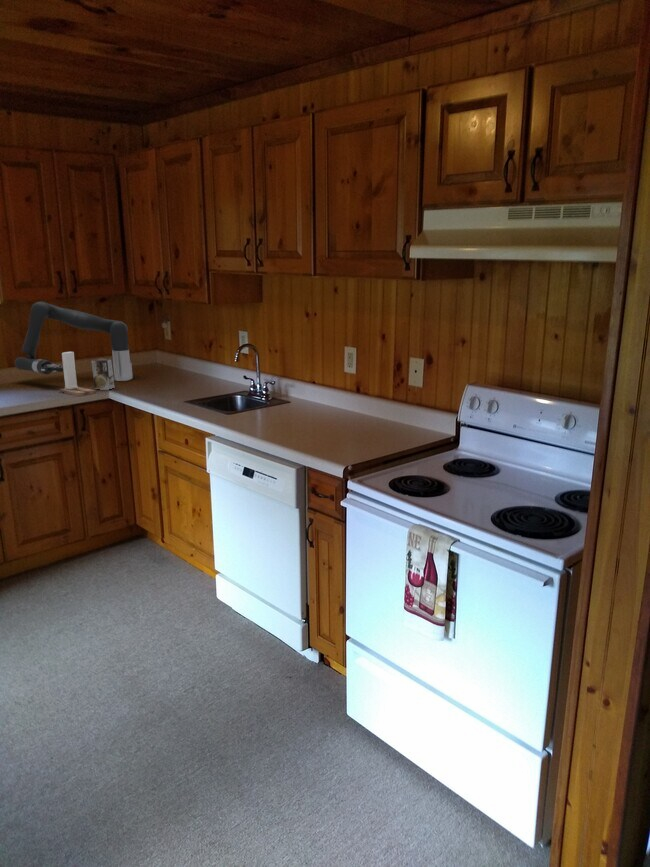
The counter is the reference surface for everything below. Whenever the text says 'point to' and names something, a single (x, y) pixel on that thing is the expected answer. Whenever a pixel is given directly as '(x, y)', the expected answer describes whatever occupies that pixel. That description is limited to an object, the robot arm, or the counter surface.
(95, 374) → the coffee box
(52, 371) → the robot arm
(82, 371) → the counter surface
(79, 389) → the slider board
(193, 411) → the counter surface
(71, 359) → the slider tab
